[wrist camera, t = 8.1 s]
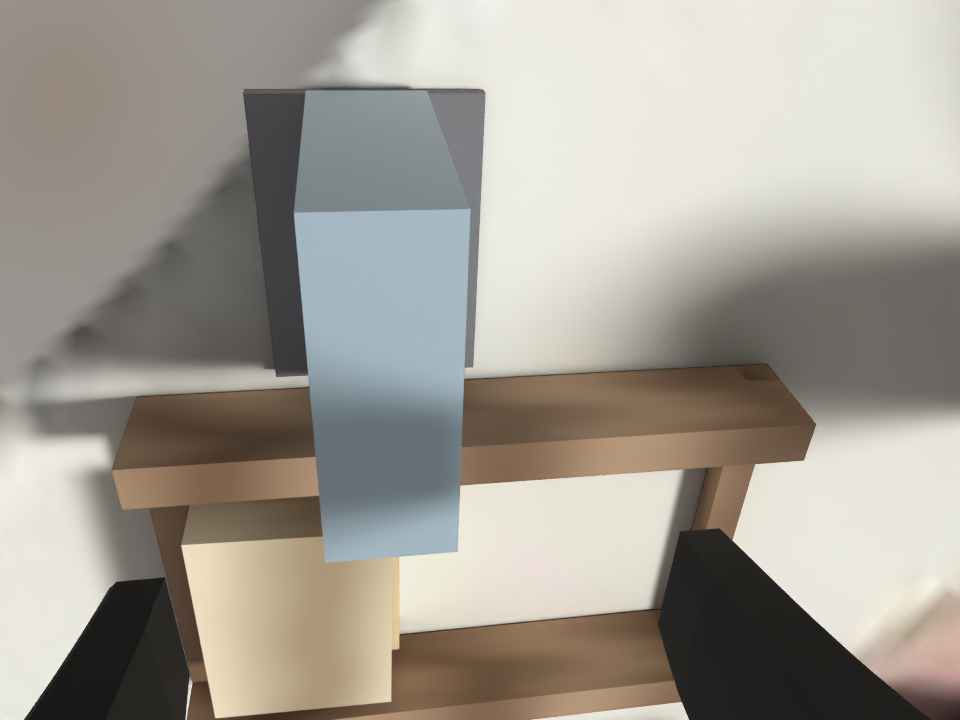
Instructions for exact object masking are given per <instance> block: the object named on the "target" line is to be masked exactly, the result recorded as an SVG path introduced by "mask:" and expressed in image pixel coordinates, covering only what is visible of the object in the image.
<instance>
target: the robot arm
mask: <svg viewBox="0 0 960 720" xmlns="http://www.w3.org/2000/svg"><path fill="white" fill-rule="evenodd" d="M658 627H659V630H660V634H661V638H662V641H663V645H664V648H665V652H666V655H667V659H668V662H669V665H670V669H671V672H672V675H673V678H674V681H675V685H676V688H677V691H678V694H679V696H680V699H681V701H682V703H683V706H684V708H685V711H686V713H687V715H688V718H689V720H930V719H929V718H928V717H926V716H925V715H924V714H923V713H921V712H920V711H919V710H918V709H916V708H915V707H914V706H913V705H911V704H910V703H909V702H908V701H907V700H905V699H904V698H903V697H902V696H901V695H899V694H898V693H897V692H896V691H895V690H893V689H892V688H891V687H890V686H889V685H887V684H886V683H885V682H884V681H883V680H881V679H880V678H879V677H878V676H877V675H875V674H874V673H873V672H872V671H871V670H869V669H868V668H867V667H866V666H865V665H864V664H863V663H862V662H860V661H859V660H858V659H857V658H856V657H855V656H854V655H852V654H851V653H850V652H849V651H848V650H847V649H846V648H845V647H844V646H842V645H841V644H840V643H839V642H838V641H837V640H836V639H835V638H834V637H833V636H832V635H830V634H829V633H828V632H827V631H826V630H825V629H824V628H823V627H822V626H821V625H820V624H818V623H817V622H816V621H815V620H814V619H813V618H812V617H811V616H810V615H809V614H808V613H807V612H806V611H804V610H803V609H802V608H801V607H800V606H799V605H798V604H797V603H796V602H795V601H794V600H793V599H792V598H791V597H790V596H789V595H788V594H787V593H786V592H785V591H784V590H783V589H782V588H780V587H779V586H778V585H777V584H776V583H775V582H774V581H773V580H772V579H771V578H770V577H769V576H768V575H767V574H766V573H765V572H764V571H763V570H762V569H761V568H760V567H759V566H758V565H757V564H756V563H755V562H754V561H753V560H752V559H751V558H750V557H749V556H748V555H747V554H746V553H745V552H744V551H743V550H741V549H740V548H739V547H738V546H737V545H736V544H735V543H734V542H733V541H732V540H731V539H730V538H729V537H728V536H727V535H726V534H725V533H724V532H723V531H722V530H721V529H720V528H716V529H705V530H694V531H682V532H680V534H679V538H678V542H677V546H676V551H675V555H674V559H673V563H672V567H671V572H670V576H669V580H668V584H667V588H666V592H665V597H664V601H663V605H662V609H661V613H660V618H659V622H658ZM188 684H189V671H188V667H187V663H186V659H185V656H184V652H183V648H182V644H181V640H180V636H179V632H178V628H177V624H176V620H175V616H174V612H173V608H172V604H171V600H170V597H169V593H168V589H167V585H166V581H165V578H154V579H143V580H132V581H120V582H116V583H115V584H114V585H113V586H112V587H111V588H109V590H108V592H107V593H106V595H105V597H104V598H103V600H102V602H101V603H100V605H99V607H98V608H97V610H96V611H95V613H94V615H93V616H92V618H91V620H90V621H89V623H88V624H87V626H86V628H85V629H84V631H83V632H82V634H81V636H80V637H79V639H78V640H77V642H76V643H75V645H74V647H73V648H72V650H71V651H70V653H69V654H68V656H67V657H66V659H65V660H64V662H63V663H62V665H61V667H60V668H59V670H58V671H57V673H56V674H55V676H54V677H53V679H52V680H51V682H50V683H49V685H48V686H47V687H46V689H45V690H44V692H43V693H42V695H41V696H40V698H39V699H38V700H37V702H36V703H35V705H34V706H33V708H32V709H31V711H30V712H29V713H28V715H27V716H26V718H25V719H24V720H185V717H186V706H187V695H188Z"/></svg>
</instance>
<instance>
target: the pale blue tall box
mask: <svg viewBox="0 0 960 720" xmlns="http://www.w3.org/2000/svg"><path fill="white" fill-rule="evenodd" d="M294 221H295V232H296V243H297V254H298V265H299V276H300V288H301V299H302V310H303V321H304V332H305V343H306V355H307V366H308V377H309V388H310V399H311V410H312V421H313V433H314V444H315V455H316V466H317V477H318V488H319V500H320V511H321V522H322V533H323V544H324V555H325V563H330V562H342V561H354V560H365V559H377V558H389V557H401V556H412V555H424V554H436V553H448V552H457V551H458V525H459V499H460V472H461V446H462V420H463V393H464V367H465V341H466V315H467V288H468V262H469V236H470V206H469V204H468V201H467V198H466V195H465V193H464V190H463V187H462V185H461V182H460V179H459V176H458V174H457V171H456V168H455V165H454V163H453V160H452V157H451V155H450V152H449V149H448V146H447V144H446V141H445V138H444V136H443V133H442V130H441V127H440V125H439V122H438V119H437V116H436V114H435V111H434V108H433V106H432V103H431V100H430V97H429V95H428V92H427V91H326V90H306V94H305V104H304V114H303V124H302V134H301V144H300V155H299V165H298V175H297V185H296V195H295V205H294Z"/></svg>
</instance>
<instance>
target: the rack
mask: <svg viewBox="0 0 960 720" xmlns="http://www.w3.org/2000/svg"><path fill="white" fill-rule="evenodd" d="M815 426H816V423H815V422H814V421H813V420H812V419H811V417H810V416H809V415H808V414H807V412H806V411H805V410H804V409H803V408H802V406H801V405H800V404H799V403H798V401H797V400H796V399H795V398H794V396H793V395H792V394H791V393H790V392H789V390H788V389H787V388H786V387H785V385H784V384H783V383H782V382H781V381H780V379H779V378H778V377H777V376H776V374H775V373H774V372H773V371H772V370H771V368H770V367H769V366H768V365H767V364H759V365H739V366H720V367H701V368H682V369H663V370H644V371H625V372H606V373H587V374H568V375H549V376H530V377H511V378H492V379H473V380H464V393H463V420H462V446H461V472H460V485H473V484H486V483H500V482H514V481H528V480H542V479H555V478H569V477H583V476H597V475H611V474H625V473H638V472H652V471H666V470H680V469H694V468H707V467H708V468H707V472H706V476H705V480H704V484H703V488H702V492H701V496H700V500H699V503H698V507H697V511H696V515H695V519H694V523H693V527H692V531H694V530H705V529H716V528H720V529H721V530H722V531H723V532H724V533H725V534H726V535H727V536H728V537H729V538H730V539H731V540H732V539H733V536H734V533H735V529H736V526H737V523H738V519H739V516H740V513H741V509H742V506H743V503H744V499H745V496H746V492H747V489H748V486H749V482H750V479H751V476H752V472H753V469H754V466H755V464H763V463H776V462H790V461H804V459H805V456H806V453H807V450H808V447H809V444H810V441H811V438H812V435H813V432H814V429H815ZM111 471H112V474H113V478H114V482H115V485H116V489H117V493H118V496H119V500H120V504H121V507H122V510H127V509H141V508H150V512H151V516H152V520H153V524H154V528H155V532H156V536H157V540H158V544H159V548H160V552H161V556H162V560H163V564H164V568H165V572H166V576H167V580H168V585H169V589H170V593H171V597H172V601H173V605H174V609H175V613H176V617H177V621H178V625H179V629H180V633H181V637H182V641H183V645H184V649H185V654H186V658H187V662H188V666H189V670H190V674H191V678H192V682H193V684H192V690H191V696H190V702H189V708H188V715H187V720H532V719H540V718H549V717H557V716H566V715H574V714H583V713H591V712H600V711H608V710H616V709H625V708H633V707H642V706H650V705H659V704H667V703H676V702H682V701H681V699H680V696H679V694H678V691H677V688H676V685H675V681H674V678H673V675H672V672H671V669H670V665H669V662H668V659H667V655H666V652H665V648H664V645H663V641H662V638H661V634H660V630H659V627H658V622H659V618H660V613H661V609H658V610H648V611H638V612H628V613H618V614H608V615H598V616H588V617H578V618H568V619H558V620H548V621H538V622H528V623H518V624H508V625H498V626H487V627H477V628H467V629H457V630H447V631H437V632H427V633H417V634H407V635H399V649H395V650H392V667H391V702H383V703H372V704H362V705H351V706H341V707H330V708H320V709H309V710H298V711H288V712H277V713H267V714H256V715H246V716H235V717H225V718H215V714H214V709H213V703H212V698H211V693H210V688H209V683H208V678H207V673H206V668H205V663H204V658H203V653H202V648H201V643H200V638H199V633H198V628H197V622H196V617H195V612H194V607H193V602H192V597H191V592H190V587H189V582H188V577H187V572H186V567H185V562H184V557H183V552H182V547H181V544H182V539H183V535H184V530H185V525H186V520H187V516H188V511H189V506H190V505H196V504H210V503H224V502H238V501H252V500H265V499H279V498H293V497H307V496H319V488H318V477H317V466H316V455H315V444H314V433H313V421H312V410H311V399H310V388H301V389H282V390H263V391H244V392H225V393H206V394H187V395H168V396H149V397H136V400H135V403H134V406H133V409H132V412H131V415H130V418H129V421H128V423H127V426H126V429H125V432H124V435H123V438H122V441H121V444H120V447H119V450H118V453H117V455H116V458H115V461H114V464H113V467H112V470H111Z"/></svg>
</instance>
